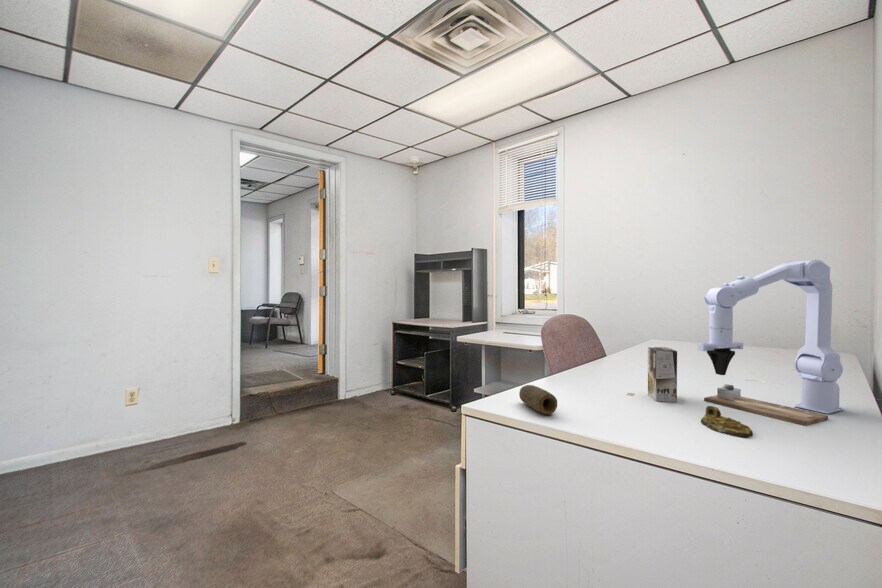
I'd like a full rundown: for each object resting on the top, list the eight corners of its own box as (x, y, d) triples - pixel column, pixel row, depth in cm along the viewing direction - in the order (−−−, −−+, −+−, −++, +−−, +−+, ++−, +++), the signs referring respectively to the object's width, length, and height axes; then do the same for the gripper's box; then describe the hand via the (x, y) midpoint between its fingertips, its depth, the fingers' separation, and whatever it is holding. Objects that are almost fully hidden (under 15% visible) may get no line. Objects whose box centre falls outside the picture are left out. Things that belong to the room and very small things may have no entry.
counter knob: (727, 395, 131) (727, 383, 131) (740, 398, 128) (740, 386, 128) (717, 397, 129) (717, 384, 129) (730, 400, 126) (731, 387, 126)
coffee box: (677, 402, 128) (678, 351, 128) (655, 401, 129) (655, 350, 129) (667, 395, 137) (668, 346, 137) (647, 394, 138) (647, 346, 138)
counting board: (726, 396, 135) (727, 393, 135) (828, 419, 111) (828, 415, 111) (704, 400, 130) (704, 397, 130) (804, 425, 106) (805, 421, 106)
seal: (766, 443, 98) (720, 422, 113) (769, 423, 98) (722, 405, 113) (729, 439, 97) (688, 419, 112) (732, 420, 97) (690, 402, 112)
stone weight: (562, 415, 116) (562, 392, 115) (540, 418, 114) (540, 394, 113) (535, 401, 130) (535, 380, 130) (515, 403, 128) (515, 382, 128)
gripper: (727, 326, 126) (727, 370, 126) (689, 327, 122) (688, 373, 122) (750, 328, 119) (750, 375, 119) (709, 330, 115) (709, 378, 116)
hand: (720, 374), depth 120 cm, fingers closed
